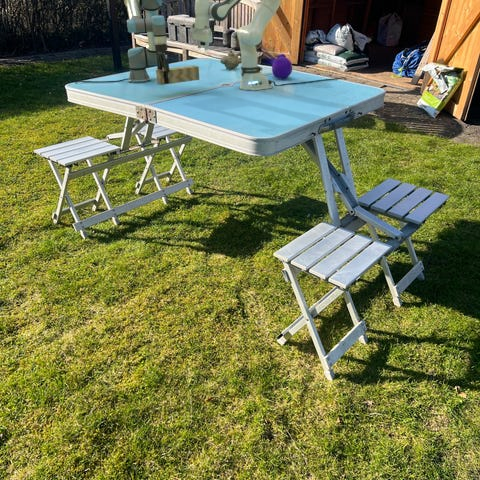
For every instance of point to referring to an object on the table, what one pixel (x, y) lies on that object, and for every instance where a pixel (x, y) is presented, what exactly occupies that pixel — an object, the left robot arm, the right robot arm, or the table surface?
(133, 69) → the left robot arm
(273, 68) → the toy
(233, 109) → the table surface
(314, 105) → the table surface
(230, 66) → the teapot
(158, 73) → the bar
